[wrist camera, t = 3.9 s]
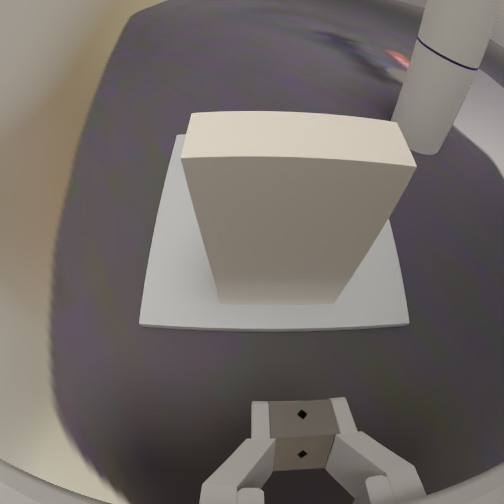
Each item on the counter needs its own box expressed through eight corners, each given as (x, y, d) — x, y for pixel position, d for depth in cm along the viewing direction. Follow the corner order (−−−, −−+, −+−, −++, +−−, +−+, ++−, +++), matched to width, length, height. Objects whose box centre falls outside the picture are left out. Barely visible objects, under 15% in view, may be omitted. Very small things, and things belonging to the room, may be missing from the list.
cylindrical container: (378, 124, 33) (425, -66, 11) (409, 112, 35) (457, -49, 13) (421, 162, 30) (497, -37, 8) (448, 145, 32) (516, -20, 10)
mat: (362, 143, 31) (364, 138, 30) (405, 325, 21) (409, 322, 21) (178, 140, 31) (177, 134, 31) (142, 326, 22) (138, 323, 21)
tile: (330, 268, 23) (394, 117, 11) (333, 304, 22) (416, 166, 9) (223, 268, 23) (193, 108, 11) (221, 304, 22) (180, 158, 9)
